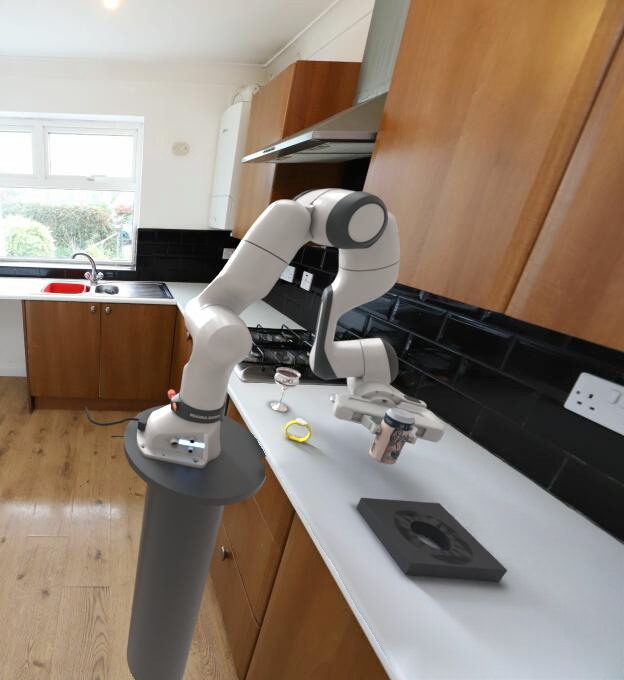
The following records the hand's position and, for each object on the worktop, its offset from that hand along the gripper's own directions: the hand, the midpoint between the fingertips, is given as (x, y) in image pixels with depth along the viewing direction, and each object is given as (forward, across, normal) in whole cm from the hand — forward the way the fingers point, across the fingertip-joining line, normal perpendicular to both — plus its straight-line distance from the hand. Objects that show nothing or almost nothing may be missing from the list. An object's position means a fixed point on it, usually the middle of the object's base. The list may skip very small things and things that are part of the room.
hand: (394, 436), depth 73 cm
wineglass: (-28, -18, +15) cm, 36 cm away
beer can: (-1, 0, +7) cm, 7 cm away
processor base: (+11, +6, +14) cm, 19 cm away
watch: (-12, -15, +15) cm, 24 cm away
